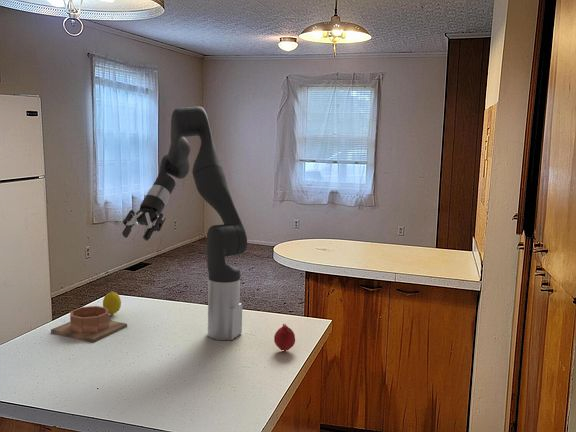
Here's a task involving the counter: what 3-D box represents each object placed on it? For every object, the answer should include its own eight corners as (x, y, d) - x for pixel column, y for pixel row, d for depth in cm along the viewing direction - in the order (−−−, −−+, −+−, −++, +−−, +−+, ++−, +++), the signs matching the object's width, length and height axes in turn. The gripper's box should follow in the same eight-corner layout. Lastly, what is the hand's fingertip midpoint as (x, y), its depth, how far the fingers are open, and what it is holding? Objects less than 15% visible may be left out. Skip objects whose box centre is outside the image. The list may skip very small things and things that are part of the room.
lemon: (102, 318, 166) (102, 294, 165) (103, 313, 171) (103, 289, 170) (120, 317, 168) (120, 293, 166) (121, 312, 173) (121, 288, 172)
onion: (294, 347, 148) (295, 320, 147) (295, 355, 143) (296, 327, 142) (273, 347, 148) (274, 320, 147) (273, 355, 142) (274, 327, 141)
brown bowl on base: (127, 326, 160) (127, 309, 159) (93, 342, 147) (93, 323, 146) (86, 318, 166) (86, 301, 165) (51, 332, 153) (50, 314, 152)
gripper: (134, 192, 185) (112, 229, 176) (168, 195, 180) (147, 233, 171) (143, 205, 191) (122, 241, 182) (176, 209, 185) (157, 246, 177)
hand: (134, 237), depth 176 cm, fingers open, 8 cm apart
